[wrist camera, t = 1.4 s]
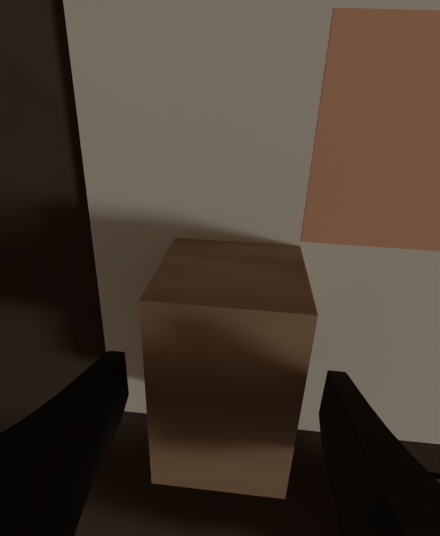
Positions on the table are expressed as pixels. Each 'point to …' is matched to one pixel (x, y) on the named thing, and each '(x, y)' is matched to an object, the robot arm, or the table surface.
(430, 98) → the card mat
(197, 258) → the box
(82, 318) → the table surface
